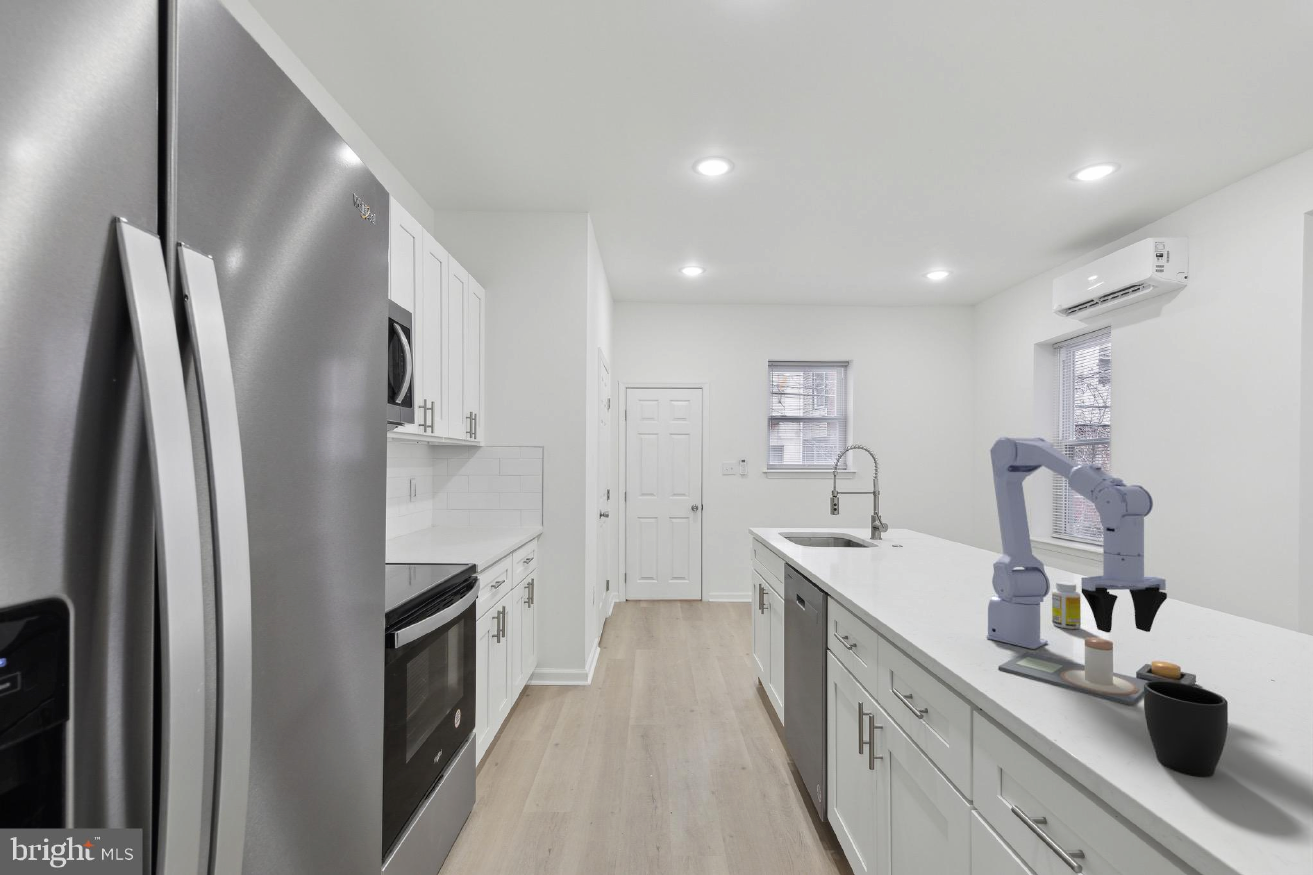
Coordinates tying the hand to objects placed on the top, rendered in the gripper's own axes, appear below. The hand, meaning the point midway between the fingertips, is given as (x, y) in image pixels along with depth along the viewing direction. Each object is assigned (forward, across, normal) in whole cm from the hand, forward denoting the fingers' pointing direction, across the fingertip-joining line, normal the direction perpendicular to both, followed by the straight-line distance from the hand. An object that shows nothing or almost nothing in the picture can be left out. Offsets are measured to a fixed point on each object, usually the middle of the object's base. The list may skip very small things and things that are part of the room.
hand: (1123, 630), depth 106 cm
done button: (+8, +9, 0) cm, 12 cm away
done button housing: (+9, +9, 0) cm, 13 cm away
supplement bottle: (+10, +18, +34) cm, 40 cm away
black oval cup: (+10, -15, -25) cm, 31 cm away
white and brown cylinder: (+9, -5, 0) cm, 10 cm away
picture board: (+9, -6, +4) cm, 12 cm away
